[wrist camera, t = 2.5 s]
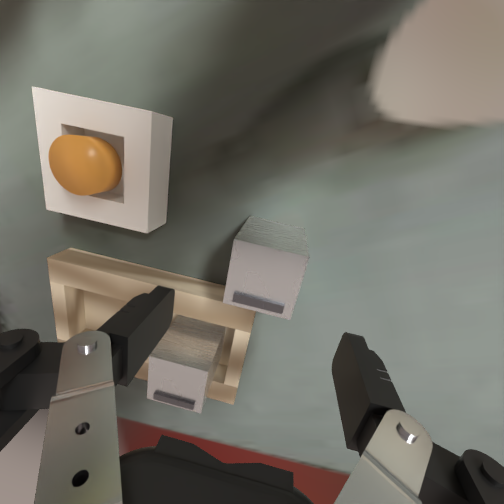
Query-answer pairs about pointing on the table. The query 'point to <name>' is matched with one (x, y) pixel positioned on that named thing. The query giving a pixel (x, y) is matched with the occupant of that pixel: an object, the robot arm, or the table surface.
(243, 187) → the table surface
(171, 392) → the block
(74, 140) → the button
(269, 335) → the table surface
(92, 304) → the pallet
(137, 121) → the box
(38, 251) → the table surface
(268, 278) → the steel billet
